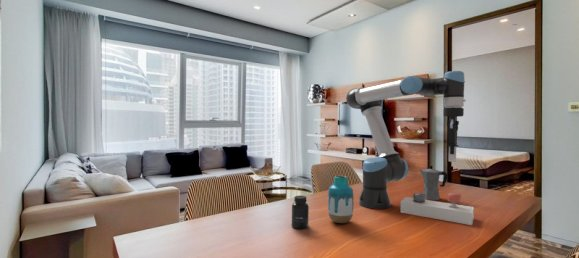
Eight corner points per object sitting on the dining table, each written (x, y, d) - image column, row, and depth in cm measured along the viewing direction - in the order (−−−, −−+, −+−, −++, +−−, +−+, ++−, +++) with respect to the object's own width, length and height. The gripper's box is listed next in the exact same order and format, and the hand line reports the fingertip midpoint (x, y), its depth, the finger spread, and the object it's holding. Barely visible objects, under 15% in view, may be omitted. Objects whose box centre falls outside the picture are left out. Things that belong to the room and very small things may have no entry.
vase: (337, 216, 126) (337, 173, 125) (358, 222, 118) (358, 176, 118) (322, 222, 118) (322, 176, 118) (343, 228, 111) (343, 180, 110)
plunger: (412, 211, 130) (412, 194, 130) (414, 209, 134) (414, 192, 134) (423, 214, 127) (424, 196, 127) (426, 211, 131) (426, 194, 131)
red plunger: (446, 212, 122) (446, 194, 122) (448, 209, 126) (448, 192, 126) (459, 215, 119) (460, 196, 119) (461, 211, 123) (461, 193, 123)
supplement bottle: (296, 230, 109) (296, 200, 108) (288, 225, 115) (288, 195, 115) (311, 227, 112) (311, 197, 112) (303, 222, 118) (303, 193, 118)
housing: (400, 212, 131) (400, 201, 131) (405, 207, 139) (406, 196, 139) (472, 225, 114) (472, 213, 114) (473, 218, 123) (473, 207, 122)
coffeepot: (414, 196, 158) (415, 164, 157) (423, 194, 163) (423, 163, 163) (443, 203, 145) (443, 168, 145) (451, 200, 151) (452, 166, 151)
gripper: (462, 106, 115) (460, 164, 116) (465, 107, 125) (463, 160, 126) (441, 107, 119) (440, 162, 120) (445, 108, 130) (444, 159, 131)
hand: (452, 161), depth 123 cm, fingers closed
